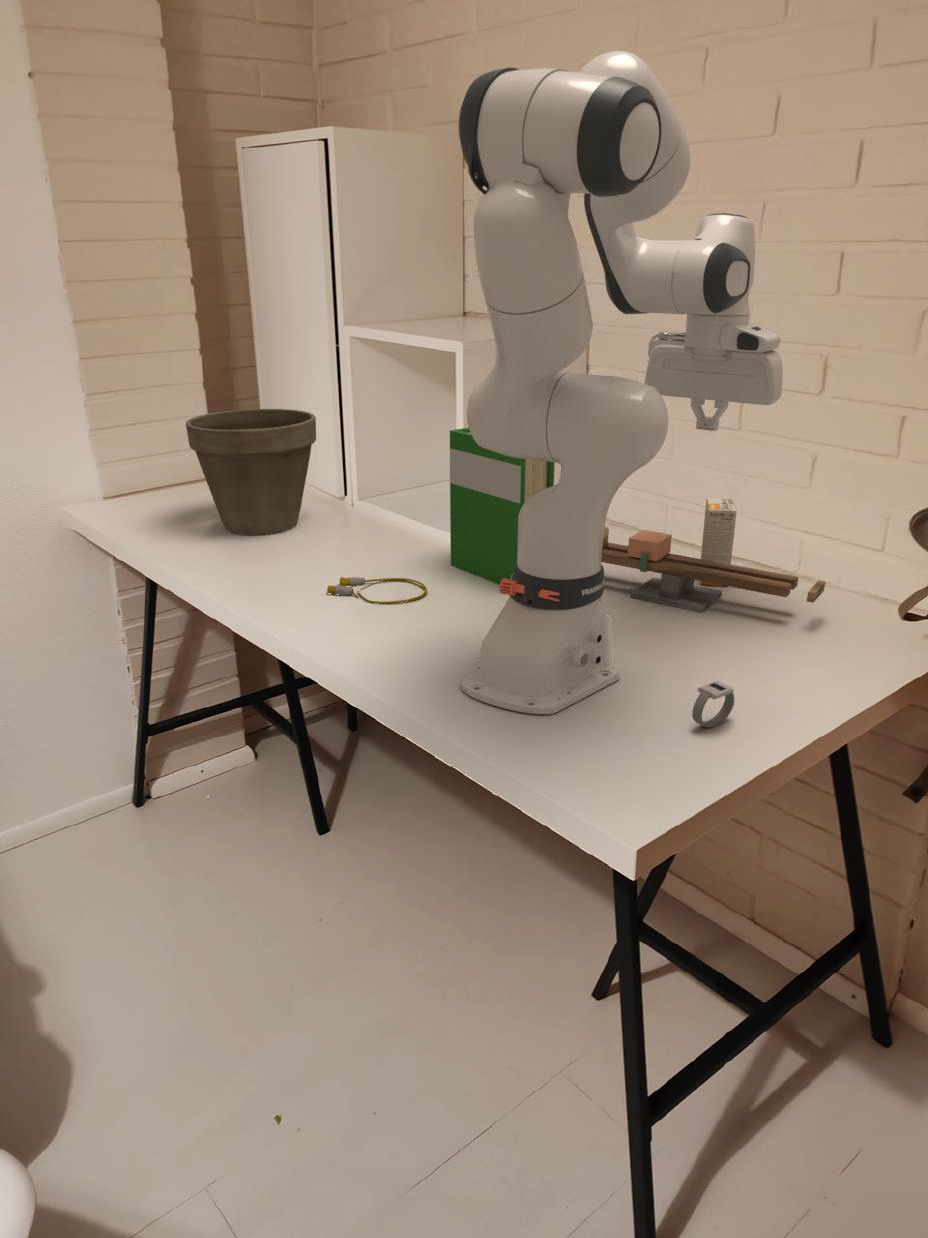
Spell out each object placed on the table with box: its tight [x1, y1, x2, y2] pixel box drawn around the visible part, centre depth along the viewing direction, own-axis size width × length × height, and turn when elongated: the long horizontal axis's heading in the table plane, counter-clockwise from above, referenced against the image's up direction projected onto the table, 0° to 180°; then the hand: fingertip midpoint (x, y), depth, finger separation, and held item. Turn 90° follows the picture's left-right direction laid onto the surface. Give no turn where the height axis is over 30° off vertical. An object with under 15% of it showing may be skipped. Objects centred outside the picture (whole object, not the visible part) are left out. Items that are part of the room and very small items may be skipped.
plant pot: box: [185, 408, 317, 536], centre depth 190 cm, size 25×25×22 cm
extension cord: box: [326, 576, 428, 605], centre depth 159 cm, size 12×16×2 cm
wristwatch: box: [691, 680, 735, 728], centre depth 115 cm, size 6×3×5 cm, turn 126°
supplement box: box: [700, 497, 737, 587], centre depth 162 cm, size 8×5×13 cm, turn 168°
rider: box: [627, 529, 673, 561], centre depth 156 cm, size 6×5×5 cm
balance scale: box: [601, 526, 826, 613], centre depth 154 cm, size 9×44×9 cm, turn 57°
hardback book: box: [449, 427, 555, 586], centre depth 162 cm, size 18×7×24 cm, turn 40°
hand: (706, 429), depth 145 cm, fingers closed
